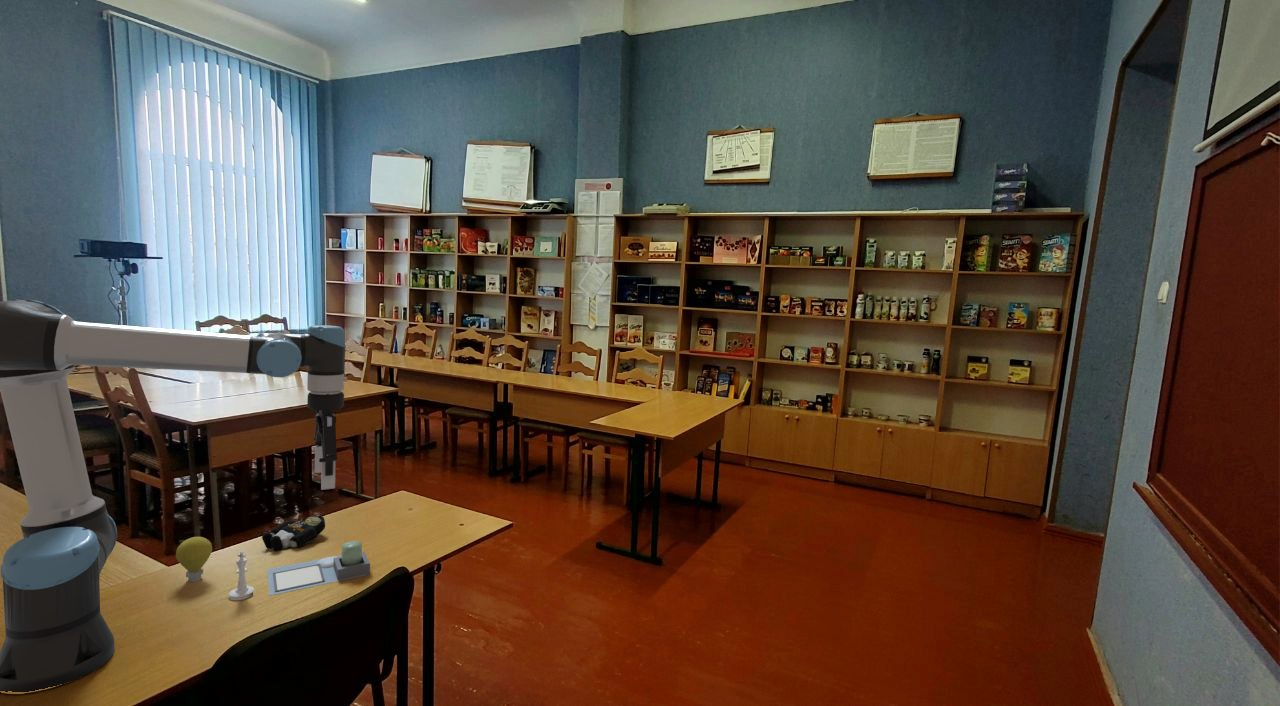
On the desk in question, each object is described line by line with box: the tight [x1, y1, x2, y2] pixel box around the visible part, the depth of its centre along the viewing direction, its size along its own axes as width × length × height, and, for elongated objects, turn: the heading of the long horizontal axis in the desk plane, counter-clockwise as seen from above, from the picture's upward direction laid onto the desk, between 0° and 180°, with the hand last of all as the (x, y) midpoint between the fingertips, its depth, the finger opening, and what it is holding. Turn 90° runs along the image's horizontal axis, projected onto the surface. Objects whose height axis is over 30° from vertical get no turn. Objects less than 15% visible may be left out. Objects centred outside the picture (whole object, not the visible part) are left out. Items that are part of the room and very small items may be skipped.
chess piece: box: [228, 551, 255, 601], centre depth 126 cm, size 5×5×10 cm
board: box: [266, 551, 371, 597], centre depth 137 cm, size 20×14×3 cm
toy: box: [261, 515, 326, 552], centre depth 154 cm, size 12×8×15 cm
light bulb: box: [175, 536, 213, 583], centre depth 131 cm, size 7×7×10 cm
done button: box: [341, 540, 363, 566], centre depth 138 cm, size 4×4×4 cm
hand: (324, 480), depth 134 cm, fingers open, 13 cm apart
